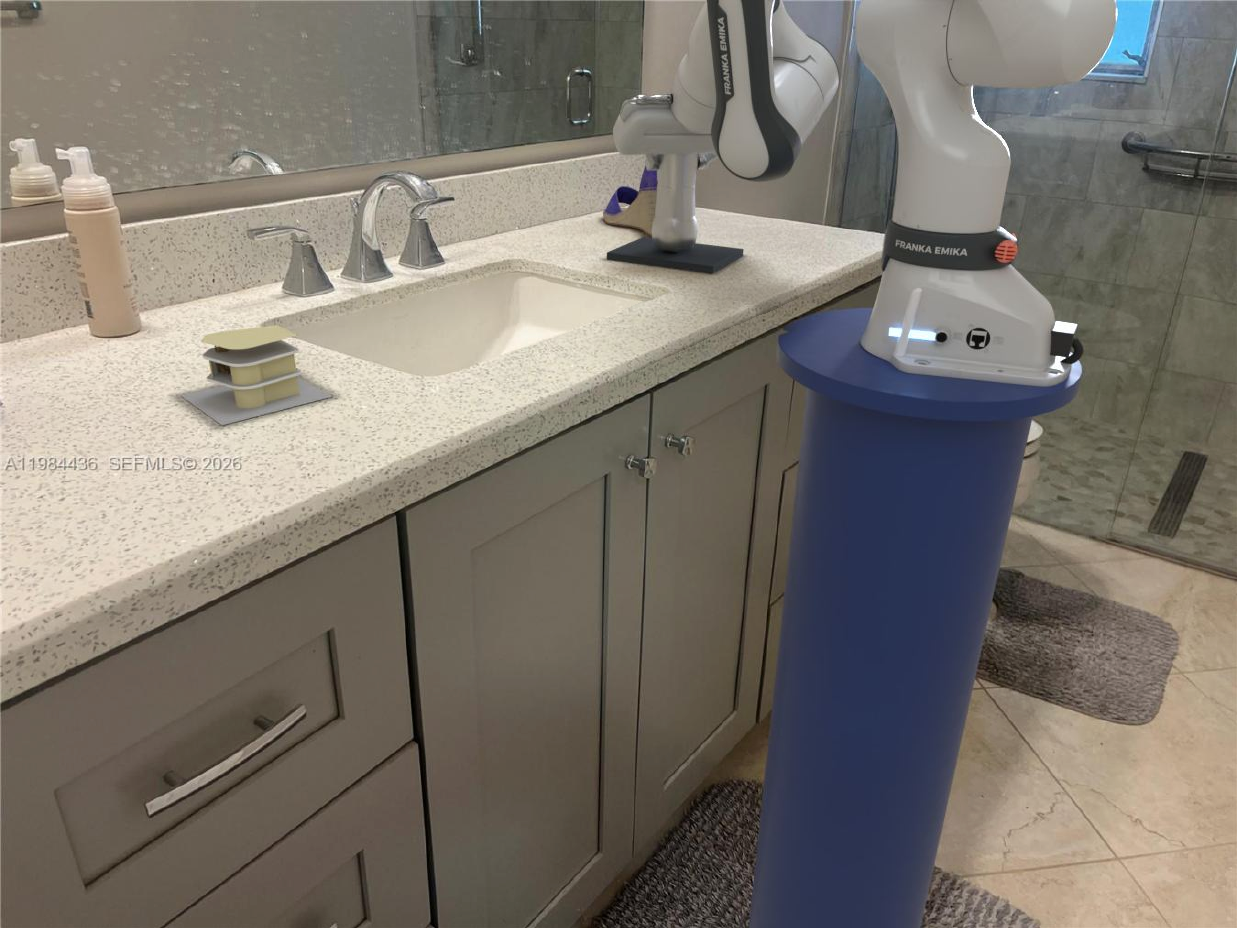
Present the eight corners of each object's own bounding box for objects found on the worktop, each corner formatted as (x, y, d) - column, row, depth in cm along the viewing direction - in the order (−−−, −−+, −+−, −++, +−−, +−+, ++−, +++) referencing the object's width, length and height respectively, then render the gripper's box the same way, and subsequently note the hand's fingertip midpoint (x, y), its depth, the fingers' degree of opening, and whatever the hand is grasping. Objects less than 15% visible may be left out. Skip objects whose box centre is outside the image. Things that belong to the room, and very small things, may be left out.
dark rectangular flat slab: (743, 255, 137) (743, 249, 137) (712, 273, 127) (713, 266, 127) (643, 243, 143) (643, 236, 143) (606, 259, 134) (606, 252, 133)
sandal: (642, 214, 163) (645, 122, 157) (679, 239, 146) (683, 137, 140) (596, 216, 162) (597, 123, 155) (628, 241, 144) (630, 137, 138)
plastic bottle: (701, 247, 137) (708, 99, 128) (690, 257, 131) (697, 102, 122) (657, 244, 138) (662, 97, 130) (645, 253, 132) (649, 100, 124)
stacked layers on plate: (287, 371, 91) (279, 315, 88) (332, 396, 85) (325, 337, 82) (180, 396, 84) (169, 336, 82) (222, 425, 79) (210, 362, 76)
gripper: (630, 117, 114) (607, 187, 127) (786, 116, 119) (749, 183, 132) (620, 74, 116) (599, 148, 129) (774, 75, 121) (739, 145, 134)
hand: (676, 166), depth 130 cm, fingers closed on plastic bottle, 6 cm apart
